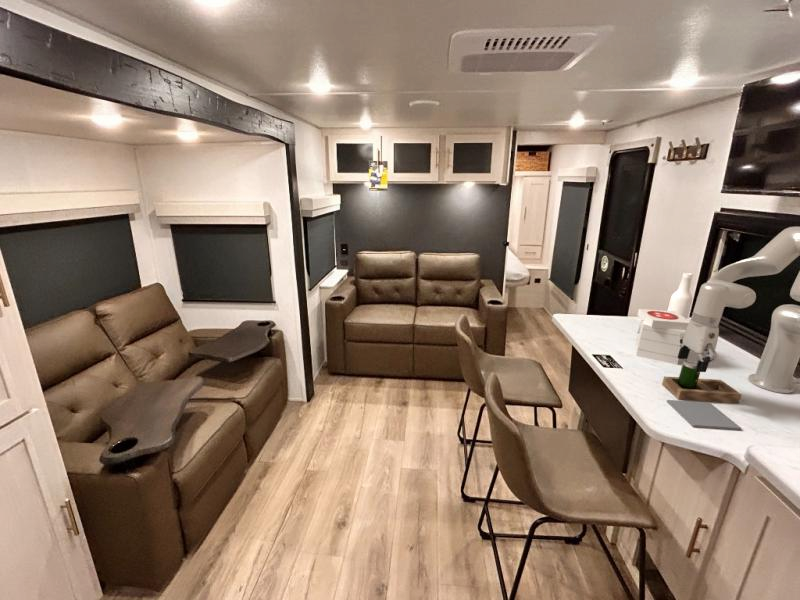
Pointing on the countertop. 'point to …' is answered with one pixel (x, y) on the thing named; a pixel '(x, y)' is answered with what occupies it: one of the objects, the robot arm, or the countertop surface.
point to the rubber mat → (703, 415)
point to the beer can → (688, 375)
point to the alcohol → (682, 297)
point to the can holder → (703, 391)
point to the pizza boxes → (660, 335)
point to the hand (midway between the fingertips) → (690, 364)
